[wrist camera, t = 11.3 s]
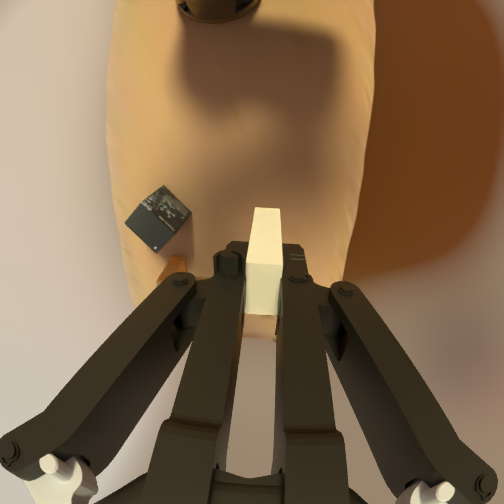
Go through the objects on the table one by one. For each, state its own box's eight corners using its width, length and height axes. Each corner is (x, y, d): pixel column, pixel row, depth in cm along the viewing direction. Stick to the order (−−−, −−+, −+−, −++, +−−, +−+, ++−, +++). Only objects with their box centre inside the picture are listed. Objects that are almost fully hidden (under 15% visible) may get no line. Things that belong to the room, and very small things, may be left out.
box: (192, 211, 52) (175, 235, 43) (174, 229, 54) (155, 255, 45) (164, 183, 50) (140, 201, 40) (147, 203, 52) (122, 224, 42)
